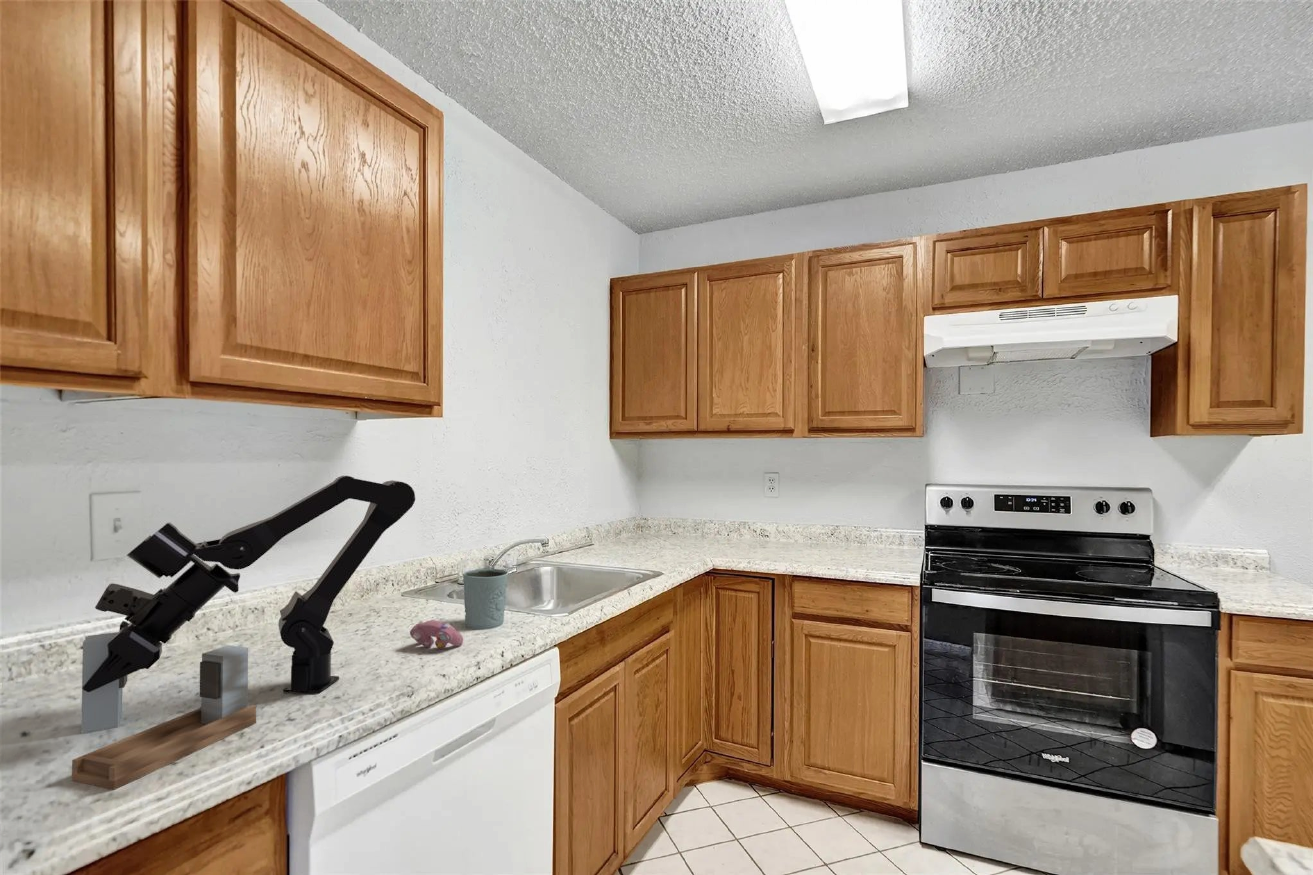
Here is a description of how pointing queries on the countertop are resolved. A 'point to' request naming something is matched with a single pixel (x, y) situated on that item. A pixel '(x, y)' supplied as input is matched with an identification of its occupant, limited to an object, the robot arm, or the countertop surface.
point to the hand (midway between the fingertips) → (90, 682)
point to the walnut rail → (178, 726)
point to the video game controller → (436, 634)
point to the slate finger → (105, 701)
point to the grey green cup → (484, 598)
